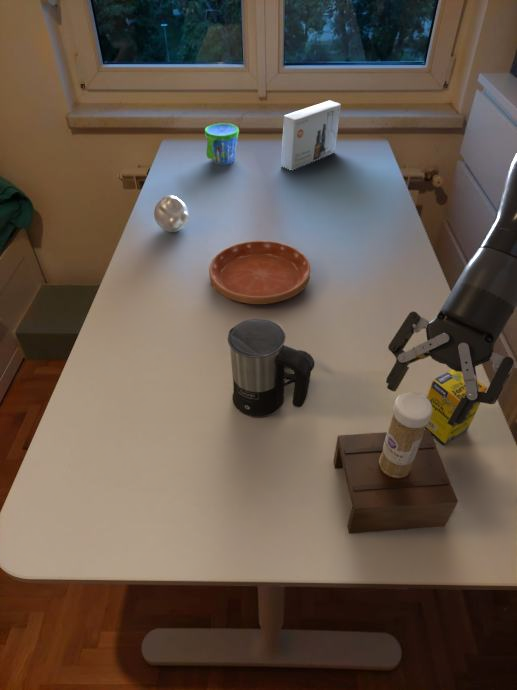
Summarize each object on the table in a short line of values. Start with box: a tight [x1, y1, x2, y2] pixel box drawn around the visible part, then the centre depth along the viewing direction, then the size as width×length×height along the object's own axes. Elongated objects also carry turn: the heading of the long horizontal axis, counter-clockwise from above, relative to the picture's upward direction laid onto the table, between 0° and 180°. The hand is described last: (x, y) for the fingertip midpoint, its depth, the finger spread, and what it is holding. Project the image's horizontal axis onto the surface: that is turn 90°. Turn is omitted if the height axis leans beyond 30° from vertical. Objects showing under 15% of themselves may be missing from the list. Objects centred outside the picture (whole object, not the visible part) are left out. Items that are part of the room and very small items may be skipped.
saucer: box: [208, 240, 311, 305], centre depth 115 cm, size 23×23×4 cm
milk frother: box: [227, 318, 315, 418], centre depth 87 cm, size 14×16×15 cm
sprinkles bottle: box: [379, 391, 433, 478], centre depth 66 cm, size 5×5×13 cm
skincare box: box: [280, 100, 342, 171], centre depth 159 cm, size 21×5×16 cm, turn 132°
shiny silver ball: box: [153, 195, 190, 233], centre depth 129 cm, size 9×9×10 cm
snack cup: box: [204, 122, 240, 165], centre depth 161 cm, size 16×10×10 cm
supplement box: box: [425, 369, 488, 447], centre depth 81 cm, size 6×6×11 cm
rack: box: [333, 430, 459, 535], centre depth 73 cm, size 14×12×7 cm
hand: (420, 407), depth 64 cm, fingers open, 8 cm apart
